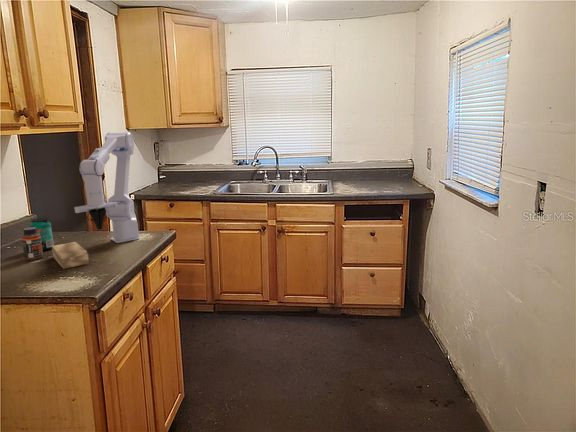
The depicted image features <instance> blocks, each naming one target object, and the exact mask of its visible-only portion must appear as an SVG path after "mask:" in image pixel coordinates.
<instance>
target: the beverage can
mask: <svg viewBox="0 0 576 432" xmlns="http://www.w3.org/2000/svg"><path fill="white" fill-rule="evenodd" d="M29 227H36V230H37V232H38V233H39V234H40V237H41V243H42V250H43V252H46V251H51V250H52V246H54V245H55V243H54V237H53V230H52V229H53V228H52V223H51V221H50V220H49V218H48V217H39V218H34V219H31V220H30V224H29Z"/></svg>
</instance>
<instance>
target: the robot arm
mask: <svg viewBox="0 0 576 432" xmlns="http://www.w3.org/2000/svg"><path fill="white" fill-rule="evenodd" d="M134 147H135V139H134V136H133V135H132V133H131V132H130V131H128V132H107V133H106V134H105V135H104V142H103V144H102V146H101V147H98V148H97V147H96V148H95V149H94V151H93V152H92V153H91V154H90V156H89V157H88V159H83V160H82V161H81V162H80V163H79V173H80V175H81V177H82V180H83V181H84V185H85V192H86V193H85V194H86V201H87V204H85V205H80V206H74V207H73V208H74V213H75V214H79V213H84V212H85V213H86V212H87V213H88V214H89V215H90V217H91V218H92V221H93V223H94V224H95V227H96V230H102V229H103V224H104V219H105V216H107V217H108V219H109V220H110V221H111V224H112V234H113V237H111V238H110V240H111V241H113V242H115V243H116V244H119V243H125V242H129V241H135V240H140V239H141V238H140V233H139V225H138V220H137V218H136V217H134V216H135V206H134V205H135V204H134V200H133V199H132V198H131V197H130V196H128V190H129V179H130V178H129V176H130V164H131V163H130V162H131V156H132V155H133V154H134V150H135V149H134ZM110 154H111V155H113V156H115V157H116V166H115V167H116V168H115V180H114V191H113V193H114V194H112V196H111V197H109V198H108V199H107V202H105V195H104V188H103V187H104V185H103V178H102V175H103V174H104V171H105V167H106V165H107V162H109V160H110Z"/></svg>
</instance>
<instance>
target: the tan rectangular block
mask: <svg viewBox="0 0 576 432" xmlns="http://www.w3.org/2000/svg"><path fill="white" fill-rule="evenodd" d="M51 250H52V258H53V259H54V260H55V261H56V262H57V263H58V264H59V265H60V267H62V269H64V270H65V269H69V268H73V267H78V266H82V265H88V264H89V260H88V258H89V255H88V256H87V254H88V251H87V249H85V248H83V246H81V245H80V244H79V243H77V242H76V241H72V242H67V243H61V244H54V246H52V249H51Z"/></svg>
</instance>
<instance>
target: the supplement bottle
mask: <svg viewBox="0 0 576 432" xmlns="http://www.w3.org/2000/svg"><path fill="white" fill-rule="evenodd" d="M21 244H22V249H23V257H24V260H26V261H35V260H40V259H41V258H43V257H44V251H43V250H42V243H41V237H40V234H39V233H38V232H37V230H36V227H30V226H29V227H25V228H23V234H22V235H21Z"/></svg>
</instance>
